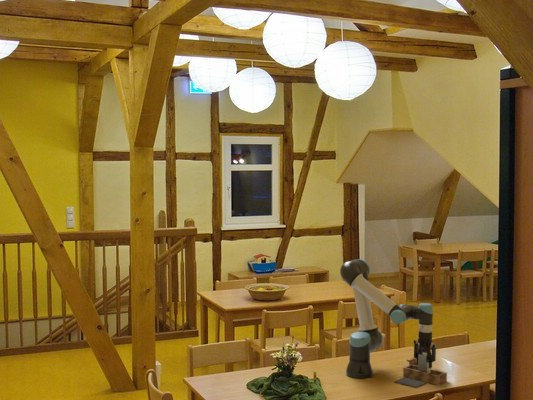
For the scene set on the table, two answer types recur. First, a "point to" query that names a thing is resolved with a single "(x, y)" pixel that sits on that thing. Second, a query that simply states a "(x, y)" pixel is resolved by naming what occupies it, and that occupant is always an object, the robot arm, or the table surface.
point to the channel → (425, 375)
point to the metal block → (422, 362)
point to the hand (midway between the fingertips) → (424, 371)
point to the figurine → (414, 360)
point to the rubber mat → (410, 382)
